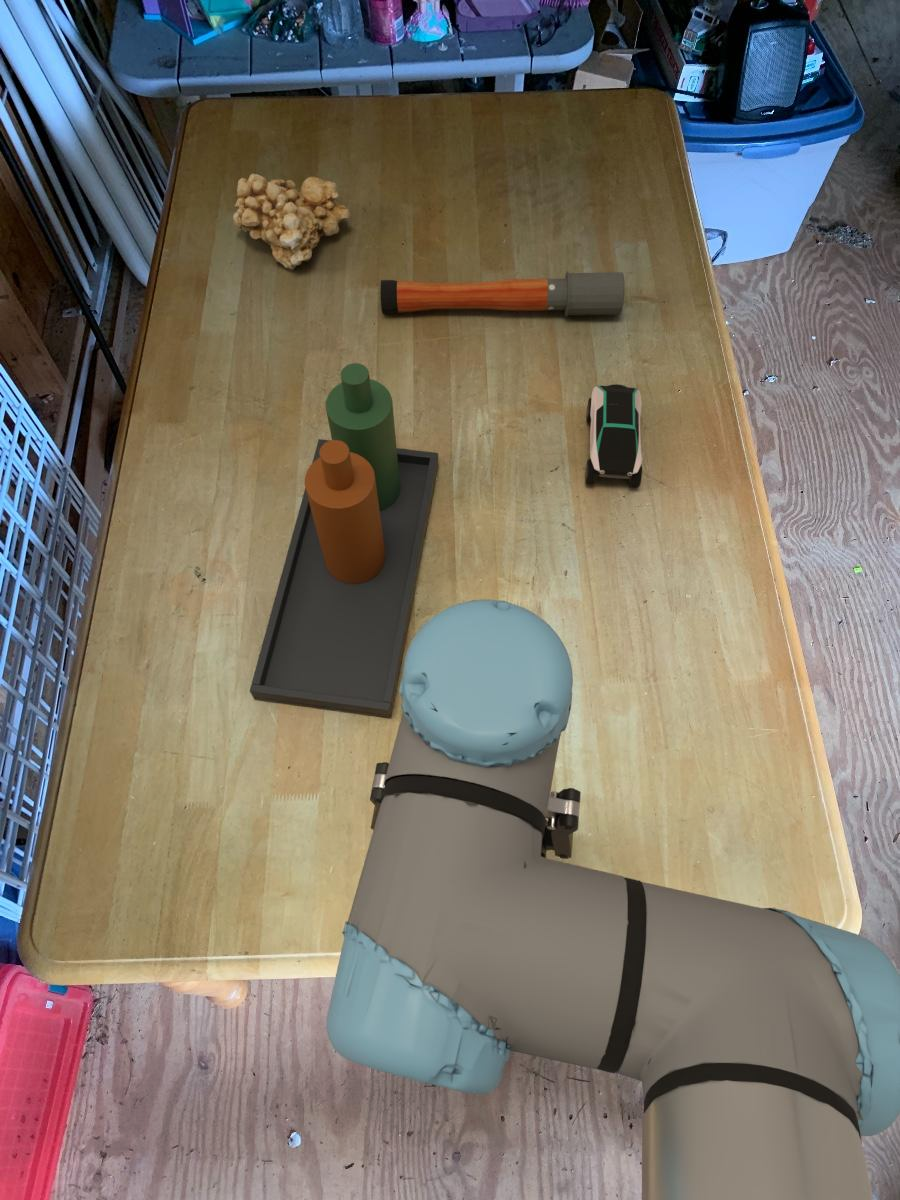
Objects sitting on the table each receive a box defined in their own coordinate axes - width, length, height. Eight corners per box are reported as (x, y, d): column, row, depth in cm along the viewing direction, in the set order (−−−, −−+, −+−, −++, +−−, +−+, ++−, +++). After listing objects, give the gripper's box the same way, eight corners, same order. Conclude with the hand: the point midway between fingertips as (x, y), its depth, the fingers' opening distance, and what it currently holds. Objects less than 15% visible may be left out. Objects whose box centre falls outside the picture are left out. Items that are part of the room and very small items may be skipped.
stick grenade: (379, 307, 101) (627, 303, 100) (380, 265, 102) (626, 261, 101) (384, 327, 107) (619, 323, 106) (384, 287, 107) (618, 284, 106)
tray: (391, 718, 80) (389, 710, 78) (254, 699, 81) (249, 691, 79) (438, 465, 95) (438, 452, 93) (321, 451, 96) (318, 438, 93)
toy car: (636, 409, 98) (645, 378, 94) (637, 493, 93) (647, 464, 88) (586, 406, 99) (593, 374, 94) (584, 489, 93) (591, 460, 88)
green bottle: (394, 515, 90) (382, 404, 74) (336, 508, 91) (312, 396, 75) (404, 468, 93) (395, 351, 77) (348, 462, 94) (327, 344, 78)
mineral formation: (301, 285, 108) (208, 239, 111) (358, 240, 115) (270, 197, 118) (300, 228, 101) (201, 180, 104) (361, 184, 109) (267, 140, 111)
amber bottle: (379, 587, 86) (363, 485, 70) (319, 580, 87) (289, 477, 71) (390, 536, 89) (377, 426, 73) (331, 528, 90) (306, 418, 74)
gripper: (656, 731, 50) (596, 820, 70) (320, 685, 51) (357, 785, 71) (652, 859, 46) (590, 914, 66) (292, 806, 48) (339, 875, 68)
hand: (470, 847), depth 69 cm, fingers open, 8 cm apart
